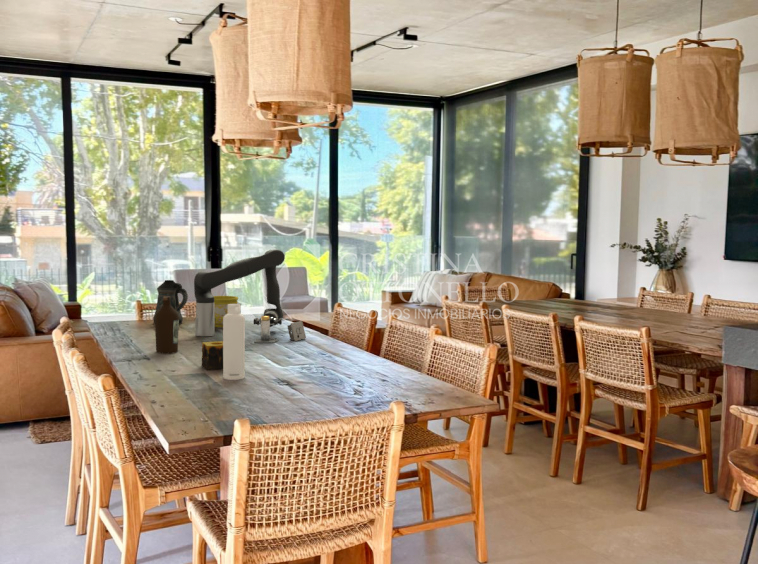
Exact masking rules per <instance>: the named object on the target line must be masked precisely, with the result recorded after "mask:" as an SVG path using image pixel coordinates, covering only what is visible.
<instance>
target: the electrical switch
mask: <svg viewBox="0 0 758 564" xmlns="http://www.w3.org/2000/svg"><path fill="white" fill-rule="evenodd" d="M286 327H287V331H288V335H289V338H290V341H294V342H297V341H302V340H301V339H303V340H305V339H304V338H306V339H307V336H306V332H305V327H304V323H303V320H302V321H296V322H291V323H290V325H289V324H288V325H287V326H286Z"/></svg>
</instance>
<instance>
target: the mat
mask: <svg viewBox="0 0 758 564" xmlns="http://www.w3.org/2000/svg"><path fill="white" fill-rule="evenodd" d="M276 342H277V338H270V340H269V341H261V338H256V339H255V340H254V341H253V343H254V344H275V343H276Z"/></svg>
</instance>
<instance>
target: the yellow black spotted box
mask: <svg viewBox="0 0 758 564" xmlns="http://www.w3.org/2000/svg"><path fill="white" fill-rule="evenodd" d="M201 367H202V368H203V369H205V370H206V371H217V370H223V340H220V341H203V342H202V343H201Z"/></svg>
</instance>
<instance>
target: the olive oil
mask: <svg viewBox="0 0 758 564" xmlns="http://www.w3.org/2000/svg"><path fill="white" fill-rule="evenodd" d="M154 314H155V313H154ZM154 321H155V324H154V334H155V335H154V337H155V350H156V351H155V352H156V353H157V354H176V353H178V351H179V346H178V345H179V330H180V329H179V325H180V324H179V316H178V313H177V312H176V310H175V309H174V308H173V307H172V306H171V305H170V297H163V306H162V307H161V308H160V309H159V310H158V311H157V312H156V314H155V318H154V320H153V322H154Z"/></svg>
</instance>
